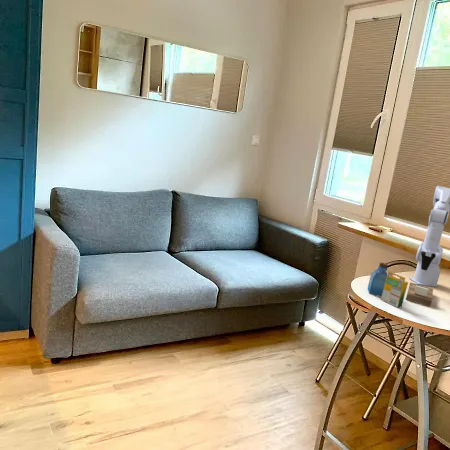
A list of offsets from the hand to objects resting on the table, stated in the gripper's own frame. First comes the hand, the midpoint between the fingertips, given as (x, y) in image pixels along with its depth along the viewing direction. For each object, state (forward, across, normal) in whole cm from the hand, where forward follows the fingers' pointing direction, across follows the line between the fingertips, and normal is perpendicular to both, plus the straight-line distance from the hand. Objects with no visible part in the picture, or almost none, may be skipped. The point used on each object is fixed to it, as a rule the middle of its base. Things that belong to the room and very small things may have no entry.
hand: (423, 269), depth 189 cm
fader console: (+9, -9, -1) cm, 13 cm away
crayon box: (+10, -27, +8) cm, 30 cm away
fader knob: (+7, -14, -1) cm, 15 cm away
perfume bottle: (+10, -20, +15) cm, 26 cm away
